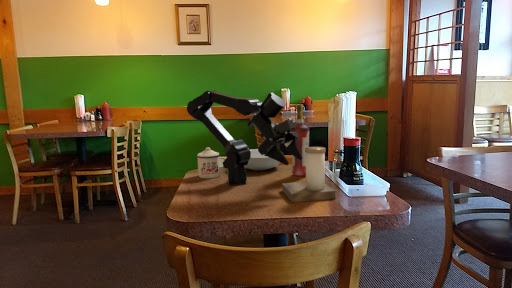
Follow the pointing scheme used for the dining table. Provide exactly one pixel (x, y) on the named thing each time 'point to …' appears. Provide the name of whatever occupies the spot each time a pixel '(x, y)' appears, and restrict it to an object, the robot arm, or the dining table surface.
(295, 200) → the beige rectangular box
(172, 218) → the dining table surface
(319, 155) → the cream jar
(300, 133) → the liquor
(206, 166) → the teacup with lid
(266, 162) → the serving bowl
